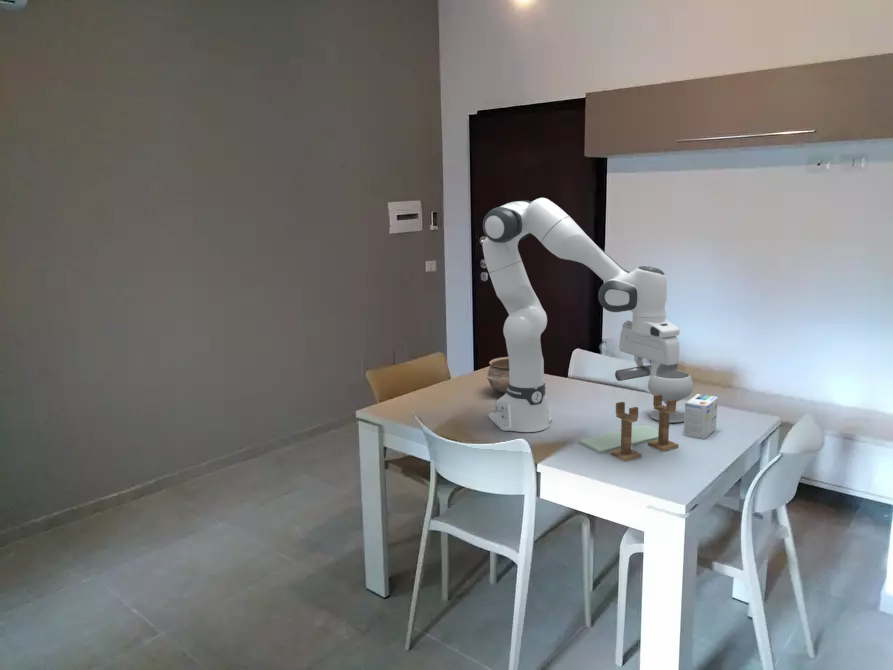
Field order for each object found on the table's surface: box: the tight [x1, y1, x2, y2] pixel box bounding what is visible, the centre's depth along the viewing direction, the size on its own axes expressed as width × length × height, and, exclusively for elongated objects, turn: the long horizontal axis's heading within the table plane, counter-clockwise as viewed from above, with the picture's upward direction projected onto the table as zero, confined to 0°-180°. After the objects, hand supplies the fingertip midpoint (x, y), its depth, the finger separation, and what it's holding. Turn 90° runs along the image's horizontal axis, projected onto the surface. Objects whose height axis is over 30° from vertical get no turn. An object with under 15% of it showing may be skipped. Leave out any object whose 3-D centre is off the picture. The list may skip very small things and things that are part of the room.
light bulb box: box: [683, 393, 719, 440], centre depth 203 cm, size 11×7×11 cm, turn 141°
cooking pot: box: [486, 356, 509, 395], centre depth 249 cm, size 25×19×12 cm
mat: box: [578, 424, 659, 454], centre depth 199 cm, size 10×26×1 cm, turn 116°
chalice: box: [647, 369, 694, 424], centre depth 216 cm, size 14×14×15 cm
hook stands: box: [610, 394, 679, 462], centre depth 189 cm, size 6×20×15 cm, turn 116°
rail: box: [614, 363, 678, 382], centre depth 186 cm, size 20×3×3 cm, turn 116°
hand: (646, 373), depth 186 cm, fingers closed on rail, 3 cm apart
